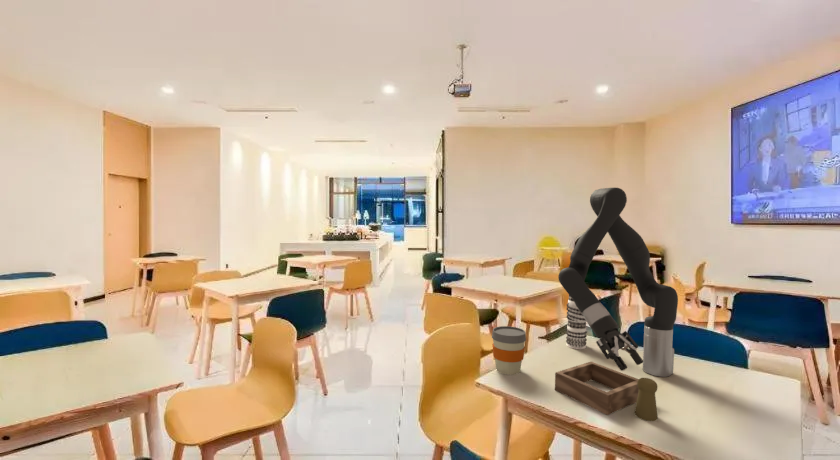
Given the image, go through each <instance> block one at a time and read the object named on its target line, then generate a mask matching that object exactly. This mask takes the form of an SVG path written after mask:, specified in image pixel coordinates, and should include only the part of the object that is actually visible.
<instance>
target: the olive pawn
mask: <svg viewBox="0 0 840 460" xmlns="http://www.w3.org/2000/svg"><path fill="white" fill-rule="evenodd" d="M638 379H639V380H638V382H637V385H638V388H639V392H638V397H637V402H636V403H635V407H634V408H635V409H634V416H635V417H637V418H638V419H640V420H643V421H645V422H646V421H647V422H656V421H658V409H657V399H656V392H657V391H658V387H659V386H658V383H657V382H656V381H655V380H653V379H652V378H648V377H641V378H638Z"/></svg>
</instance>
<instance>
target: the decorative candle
mask: <svg viewBox="0 0 840 460" xmlns="http://www.w3.org/2000/svg"><path fill="white" fill-rule="evenodd" d="M566 310H567V311H566V320H567V325H566V327H567V328H566V330H565V331H566V337H565V339H566V340H565V342H566V344H565V345H566V346H567V347H568V348H571V349H575V350H584V349H586V348H587V337H588V335H587V334H588V331H587V322H586V320H585V318H584V316H583V315H582V313H581V312H580V310H579V309H578V307H577V306H576V304H575V302H574V301H573V299H572V298H571V296H570V295H569V294H568V300H567V303H566Z"/></svg>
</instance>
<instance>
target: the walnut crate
mask: <svg viewBox="0 0 840 460" xmlns="http://www.w3.org/2000/svg"><path fill="white" fill-rule="evenodd" d="M554 375H555V376H554V377H555V378H554V390H555V391H556V392H559V393H561V394H562V395H565V396H567V397H569V398H570V399H573V400H575V401H577V402H579V403H582V404H583V405H585V406H587V407H589V408H592V409H593V410H596V411H598V412H599V413H602V414H604V415H606V416H608V415H612V414H614V413H615V412H618V411H621V410H623V409H625V408H627V407H629V406H632V405H634V404H636V402H637V397H638V392H639V388H638V385H637V382H638V380H639V379H640V378H637V377H633V376H631V375H629V374H626V373H623V372H620V371H618V370H616V369H613V368H609V367H607V366H604V365H602V364H599V363H596V362H594V361H588V362H585V363H581V364H579V365H578V364H577V365H576V366H572V367H569V368H565V369H562V370H559V371H555V373H554ZM590 381H593V382H595V383H597V384H599V385H602V386H604V387H607V388H609V389H611V390H609V391H608V390H607V391H605V390H603V389H601V388H598V387H596V386H594V385H591V384H589V383H588V382H590Z"/></svg>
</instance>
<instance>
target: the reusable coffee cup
mask: <svg viewBox="0 0 840 460" xmlns="http://www.w3.org/2000/svg"><path fill="white" fill-rule="evenodd" d="M526 334H527V333H526V330H524V329H523V328H520V327H516V326H508V325H502V326H495V327H494V328H492V332H491V339H492V341H493V342H492V354H493V357H494V362H495V370H496V369H497V370H496V372H498V373H499V374H503V375H507V376H514V375H515V376H516V375H518V374H520V373H521V369H522V367H521V366H522V362H523V360H524V357H525V351H526V346H525V342H526V341H527V337H526Z"/></svg>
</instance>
